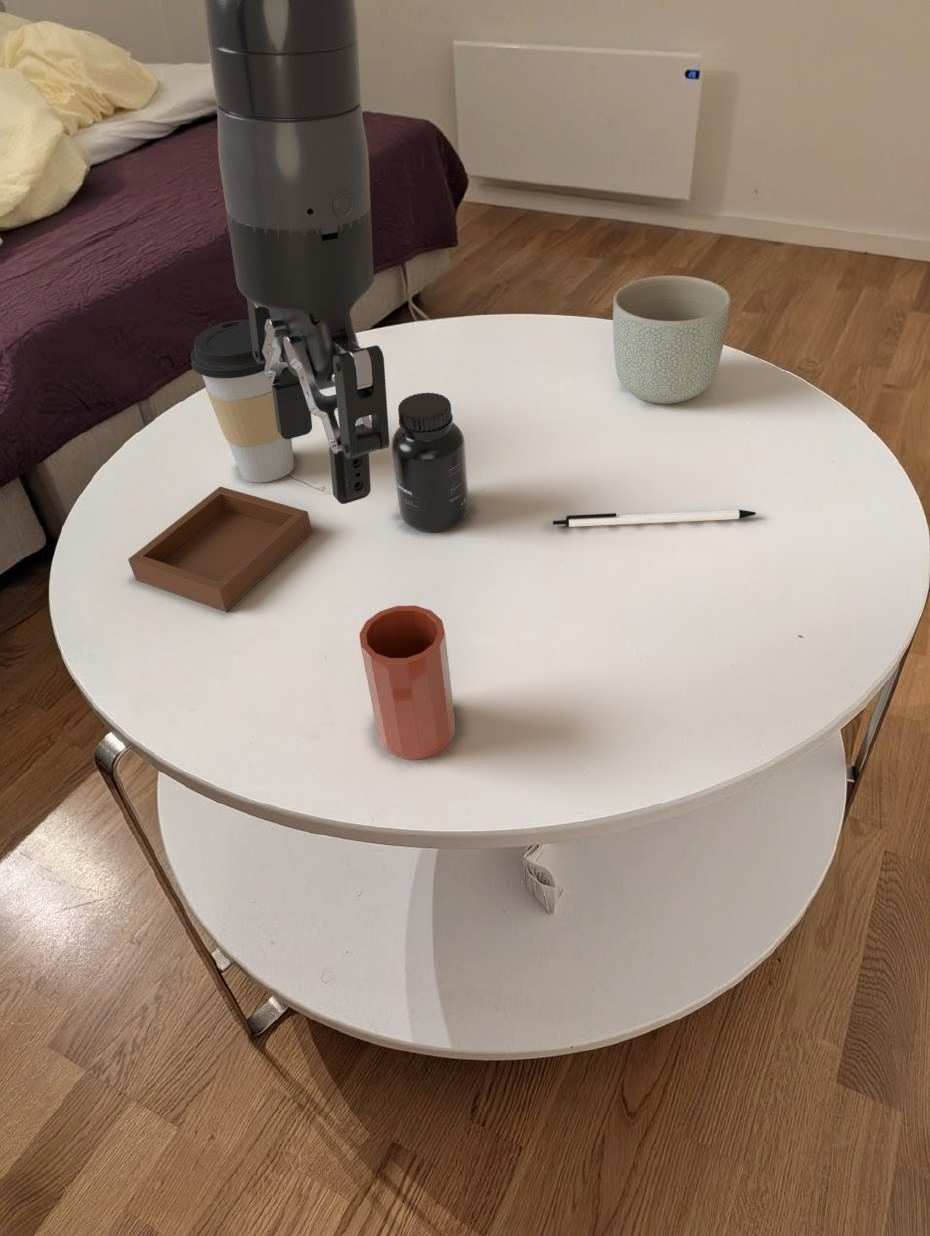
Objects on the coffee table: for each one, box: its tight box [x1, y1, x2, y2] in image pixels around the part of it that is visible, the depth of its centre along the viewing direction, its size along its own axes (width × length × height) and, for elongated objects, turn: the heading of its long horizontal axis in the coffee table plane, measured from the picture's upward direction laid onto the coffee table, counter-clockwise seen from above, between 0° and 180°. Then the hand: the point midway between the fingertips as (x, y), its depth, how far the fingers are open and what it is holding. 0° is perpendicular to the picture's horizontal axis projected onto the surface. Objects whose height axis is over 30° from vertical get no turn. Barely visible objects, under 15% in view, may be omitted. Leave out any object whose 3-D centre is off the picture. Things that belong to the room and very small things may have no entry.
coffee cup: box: [190, 319, 295, 484], centre depth 94 cm, size 9×9×15 cm
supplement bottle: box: [391, 392, 469, 533], centre depth 87 cm, size 7×7×12 cm
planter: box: [612, 275, 732, 405], centre depth 102 cm, size 12×12×11 cm
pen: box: [552, 509, 758, 528], centre depth 87 cm, size 1×19×1 cm, turn 89°
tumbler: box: [358, 605, 456, 761], centre depth 66 cm, size 6×6×10 cm
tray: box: [127, 486, 313, 613], centre depth 87 cm, size 13×11×2 cm
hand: (322, 465), depth 59 cm, fingers open, 8 cm apart
